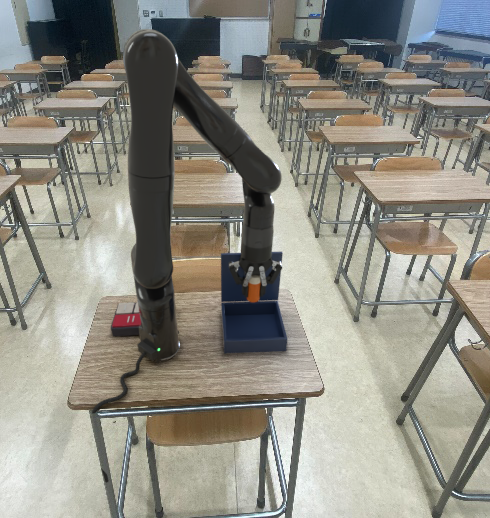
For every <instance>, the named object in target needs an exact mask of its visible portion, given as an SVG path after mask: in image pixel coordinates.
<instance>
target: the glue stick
mask: <svg viewBox="0 0 490 518" xmlns="http://www.w3.org/2000/svg"><path fill="white" fill-rule="evenodd" d="M260 286H261V276H260V275H252V276H251V278H250V280H249V282H248V297H247V300H248V301H247V302H258V301H259V299H260Z"/></svg>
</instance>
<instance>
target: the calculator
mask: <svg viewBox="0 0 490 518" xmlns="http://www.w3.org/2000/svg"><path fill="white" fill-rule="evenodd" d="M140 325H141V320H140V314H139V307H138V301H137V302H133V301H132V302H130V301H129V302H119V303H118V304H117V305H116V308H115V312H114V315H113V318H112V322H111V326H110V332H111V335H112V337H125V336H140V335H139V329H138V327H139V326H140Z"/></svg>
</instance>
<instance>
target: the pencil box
mask: <svg viewBox="0 0 490 518" xmlns="http://www.w3.org/2000/svg"><path fill="white" fill-rule="evenodd" d="M220 311H221V312H220V314H221V315H220V316H221V328H222V329H221V330H222V344H223V354H248V353H251V354H252V353H275V352H276V353H277V352H278V353H279V352H287V349H288V348H287V346H288V336H287V331H286V328H285V324H284V320H283V315H282V311H281V308H280V304H279V300H268V301H258V302H249V301H237V302H221V303H220Z"/></svg>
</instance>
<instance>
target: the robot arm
mask: <svg viewBox="0 0 490 518" xmlns="http://www.w3.org/2000/svg"><path fill="white" fill-rule="evenodd" d="M122 62H123V68H124V72H125V77H126V82H127V89H128V97H129V105H130V117H131V118H130V121H131V123H130V131H129V132H130V133H129V139H128V149H127V150H128V151H127V183H128V184H127V185H128V195H129V203H130V209H131V215H132V219H133V225H134V231H135V232H134V233H135V243H134V244H133V246H132V248H131V251H130V262H131V270H132V274H133V281H134V282H133V283H134V287H135V295H136V301H137V302H138V307H139V314H140V320H141V325H140V326H139V327H138V329H139V335H138V336H139V340H140V341H139V342H138V343H137V350H138V352H139V353H141V354H140V355H139V357H138V359H137V360H136V363H135V369H134V370H132V371H127V372H124V373H123V374H122V375H121V376H120V379H119V381H120V385H121V386H122V389H123V390H122V392H121V393H120V394H118V395H117V396H114V397H110V398H107V399H103V400H102V401H99V402H98V403H97V404H96V405H95V406H94V407H93V409H92V411H91V413H92V414H96V413H97V412H98V410H99V409H100V408H101V407H102V406H104V405H106V404H110V403H114V402H117V401H120V400H121V399H123V398H124V397H125V396H126V395H127V393H128V385H127V384H126V382H125V378H126V377H131V376H134V375H137V373H139V371H140V369H141V368H140V367H141V366H140V365H141V363H142V361H143V360H144V358H145V357H146V358H147V359H149V360H150V361H152V362H155V363H156V364H159V363H161V362H165V361H168V360H171V359H172V358H174V357H175V356H176V354H177V353H178V351H179V350H180V345H181V344H180V338H179V335H180V330H179V328H178V317H177V305H176V303H177V302H176V295H175V286H174V280H173V273H174V262H173V261H174V260H173V253H172V252H173V251H172V241H171V239H172V238H171V229H172V220H173V208H174V196H175V195H174V193H175V178H176V177H175V176H176V175H175V174H176V173H175V171H176V170H175V169H176V168H175V142H174V131H173V116H174V115H173V114H174V108H175V109H176V110H177V111H178V112H179V113H180V114H181V115H182V117H183V118H184V119H185V120H186V121H187V123H188V124H190V126H191V127H192V128H193V129H194V131H195V132H196V133H197V134H198V135H199V136H200V138H201V139H202V140H203V141H204V142H205V144H207V145H208V146H209V147H210V148H211V149H212V150H213V151H214V152H215V153H216V154H217V155H218V156H219V157H220V158H221V159H222V160H224V162H226V163H227V164H228V165H230V166H231V167H232V168H233V169H234V171H235V172H236V173H237V174H238V176H240V178H241V185H242V186H241V187H242V195H243V204H244V205H243V216H242V218H243V219H242V227H241V234H240V237H241V240H240V244H241V245H240V253H241V256H240V258H239V260H238V261H237V262H234V263H233V262H232V261H231V262H229V270H230V272H231V274H232V276H233V278H234V280H235V282H236V284H237V285H240V284H241V285H242V294H243V295H245V297H248V282H249V280H250V278H251V276H252V275H260V276H261V286H260V297H263V295H265V291H266V285H267V284H273V283H274V281H275V280H276V278H277V276H278V275H279V273H280V271H281V272H282V270H283V265H282V264H283V263H282V264H281V262H280V261H277V262H276V261H273V260H272V258H271V255H272V252H273V245H274V244H273V243H274V220H275V208H276V207H275V202H274V199H273V197H272V194H273V193H275V192H276V191H277V190H278V189H279V188H280V186H281V184H282V180H283V179H282V178H283V176H282V172H281V169H280V167H279V166H278V165H277V163H275V162H274V161H273V160H272V159H271V158H270V156H269V155H267V154H265V152H264V151H262V150H261V149H260V147H258V146H257V145H256V143H255V142H254V141H253V139H252V138H251V137H250V135H249V134H248V132H247V131H245V130H244V128H243V127H242V126H241V125H240V124H239V123H238V122H237V121H236V120H235V119H234V118H233V117H232V116H231V115H230V114H229V113H228V112H227V111H226V110H225V109H224V108H223V107H222V106H221V105H220V104H219V103H218V102H216V101H215V100H214V99H213V98H212V97H211V96H210V95H209V94H208V93H207V92H206V91H205V90H204V89H203V88H202V87H201V85H200V84H199V83H198V82H197V81H196V80H195V79H194V78H193V77H192V76H191V75H190V73H189V72H188V71H187V69H186V68H185V66H184V65H183V63H182V62H181V60H180V59H179V57H178V53H177V50H176V48H175V46H174V44H173V43H172V41H171V40H170V39H169V38H168V37H167V36H166V35H164V34H163V33H161V32H160V31H158V30H155V29H152V28H141V29H139V30H135V31H134V32H133V33H131V35H130V36H129V37H128V38H127V40H126V41H125V44H124V46H123V52H122ZM239 266H240V267H241V268H242V269H243V270H244V275H243V278H241V277H240V276H239V274H238V272H237V271H238V267H239ZM271 266H272V270H271V272H270V274H269V275H268V277H265V272H266V271H267V270H268V269H269V268H270V267H271ZM100 468H101V467H100ZM101 473H102V476H103V479H104V482H105V484H106V483H109V481H110V480H109V475H108V473H107V472H106V471H104V469H103V468H101Z"/></svg>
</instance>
